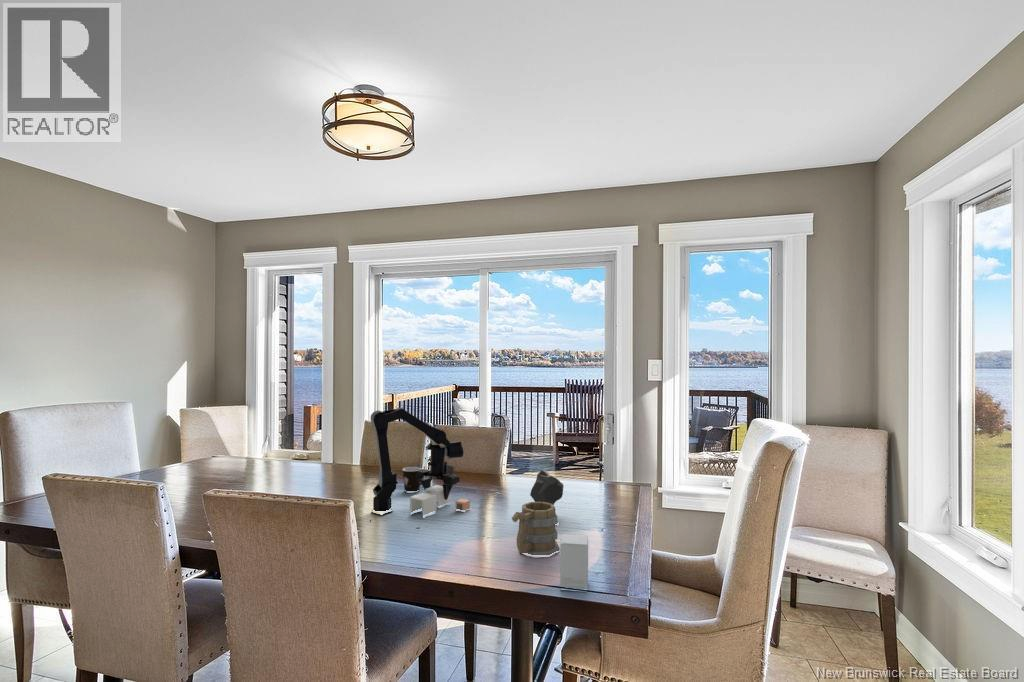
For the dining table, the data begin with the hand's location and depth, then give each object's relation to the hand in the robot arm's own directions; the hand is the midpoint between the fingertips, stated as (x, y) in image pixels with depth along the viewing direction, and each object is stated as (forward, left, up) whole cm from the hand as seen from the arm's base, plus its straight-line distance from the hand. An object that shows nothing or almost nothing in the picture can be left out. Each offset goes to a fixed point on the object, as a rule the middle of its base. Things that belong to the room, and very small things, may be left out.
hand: (437, 497), depth 214 cm
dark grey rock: (+11, -45, -3) cm, 46 cm away
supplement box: (-36, -79, -3) cm, 87 cm away
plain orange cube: (0, -13, -3) cm, 13 cm away
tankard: (-23, -58, -3) cm, 62 cm away
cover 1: (-12, -3, -3) cm, 13 cm away
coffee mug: (+9, +22, -3) cm, 24 cm away
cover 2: (0, 0, -3) cm, 3 cm away
